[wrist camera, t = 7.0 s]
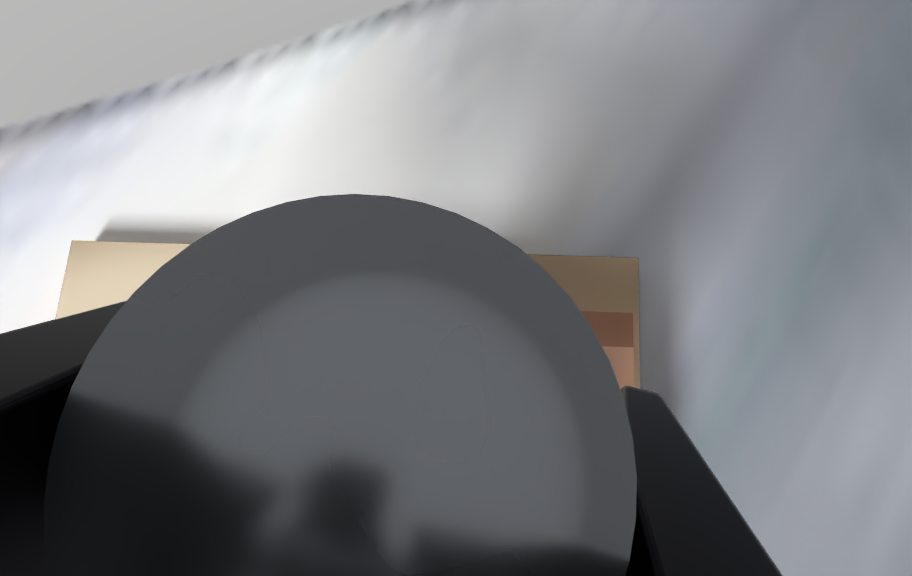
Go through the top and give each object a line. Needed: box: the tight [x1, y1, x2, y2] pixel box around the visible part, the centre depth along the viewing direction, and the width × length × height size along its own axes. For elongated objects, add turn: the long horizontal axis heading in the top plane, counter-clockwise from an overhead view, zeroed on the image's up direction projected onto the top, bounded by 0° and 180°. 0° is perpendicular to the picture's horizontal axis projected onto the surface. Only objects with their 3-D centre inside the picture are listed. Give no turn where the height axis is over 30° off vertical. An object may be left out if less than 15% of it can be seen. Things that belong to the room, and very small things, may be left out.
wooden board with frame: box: [55, 241, 640, 390], centre depth 17 cm, size 12×16×3 cm
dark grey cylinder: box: [44, 194, 637, 576], centre depth 10 cm, size 4×4×9 cm
